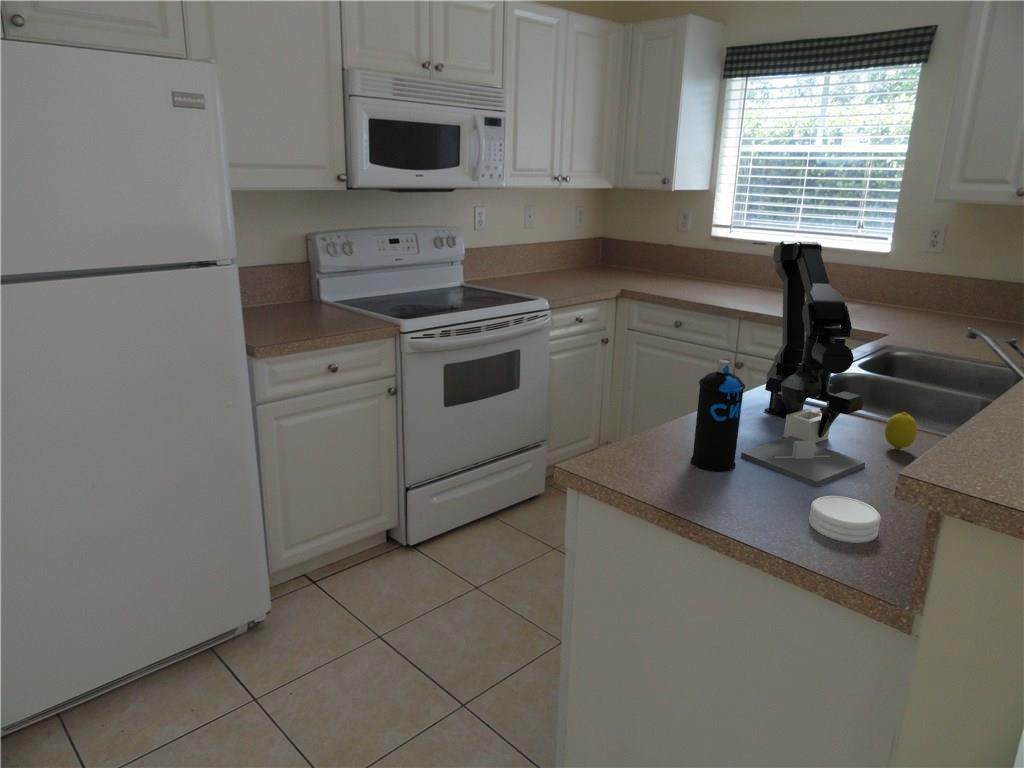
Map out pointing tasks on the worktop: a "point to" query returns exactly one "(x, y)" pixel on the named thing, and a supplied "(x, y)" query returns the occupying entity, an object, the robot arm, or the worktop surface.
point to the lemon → (901, 430)
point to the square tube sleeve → (804, 425)
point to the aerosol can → (718, 420)
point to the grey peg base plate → (803, 460)
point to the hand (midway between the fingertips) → (806, 432)
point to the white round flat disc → (844, 519)
